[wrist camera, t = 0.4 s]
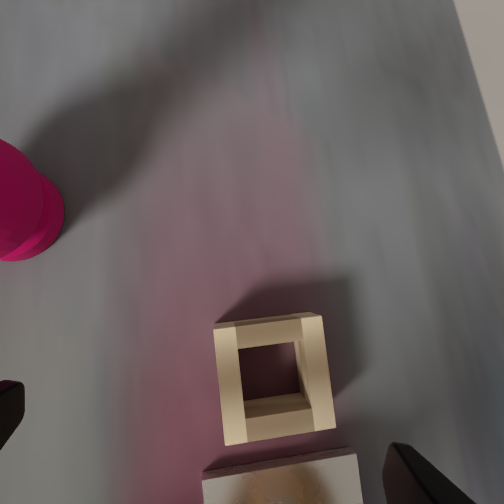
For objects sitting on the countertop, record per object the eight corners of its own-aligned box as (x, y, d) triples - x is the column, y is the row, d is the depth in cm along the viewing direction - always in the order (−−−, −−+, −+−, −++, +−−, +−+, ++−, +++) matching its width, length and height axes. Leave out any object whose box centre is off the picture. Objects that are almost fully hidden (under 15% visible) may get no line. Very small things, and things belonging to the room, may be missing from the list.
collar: (321, 409, 23) (336, 427, 20) (224, 424, 22) (225, 446, 19) (308, 311, 23) (321, 315, 20) (214, 323, 23) (213, 329, 20)
